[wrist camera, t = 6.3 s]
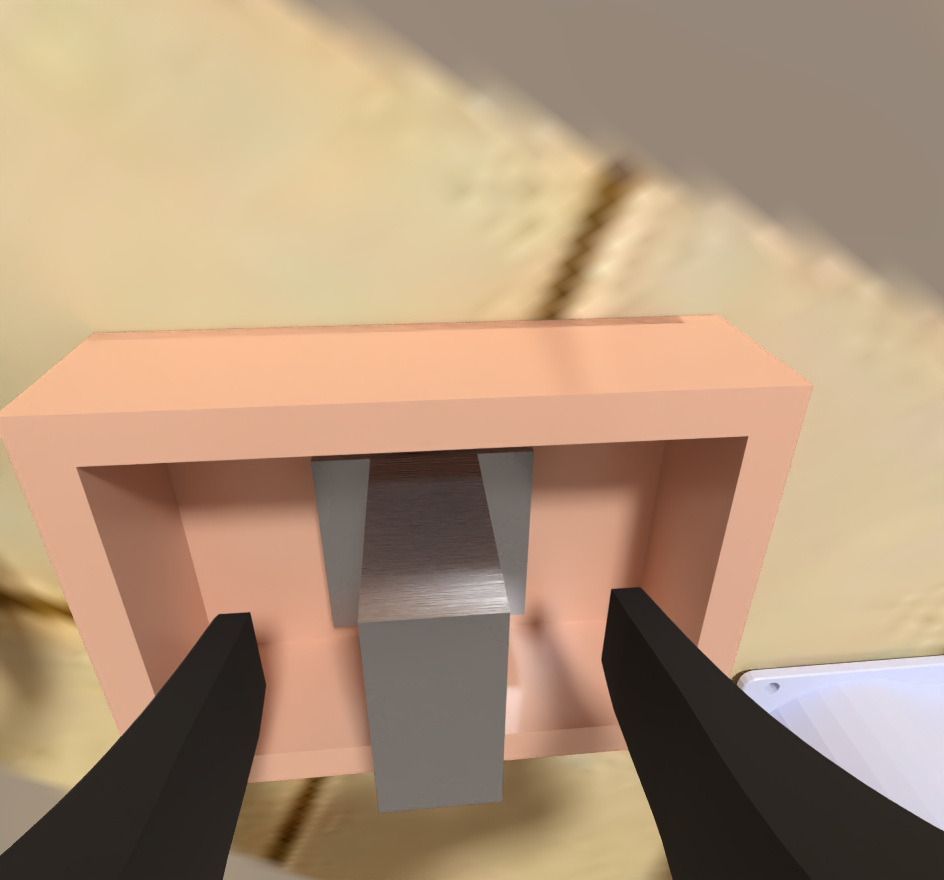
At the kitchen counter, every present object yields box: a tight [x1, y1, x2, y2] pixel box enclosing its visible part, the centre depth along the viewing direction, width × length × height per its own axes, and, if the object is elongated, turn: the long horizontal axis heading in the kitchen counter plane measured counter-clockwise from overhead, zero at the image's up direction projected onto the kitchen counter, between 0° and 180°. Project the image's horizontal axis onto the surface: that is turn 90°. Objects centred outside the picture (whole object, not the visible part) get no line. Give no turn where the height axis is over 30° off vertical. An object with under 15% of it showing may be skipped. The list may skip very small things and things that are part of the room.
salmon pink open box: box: [0, 315, 813, 783], centre depth 15 cm, size 14×10×4 cm
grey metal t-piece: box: [311, 446, 534, 813], centre depth 14 cm, size 5×5×6 cm
